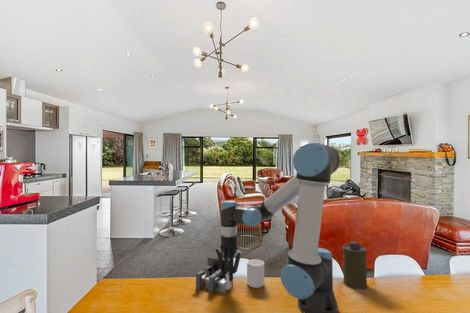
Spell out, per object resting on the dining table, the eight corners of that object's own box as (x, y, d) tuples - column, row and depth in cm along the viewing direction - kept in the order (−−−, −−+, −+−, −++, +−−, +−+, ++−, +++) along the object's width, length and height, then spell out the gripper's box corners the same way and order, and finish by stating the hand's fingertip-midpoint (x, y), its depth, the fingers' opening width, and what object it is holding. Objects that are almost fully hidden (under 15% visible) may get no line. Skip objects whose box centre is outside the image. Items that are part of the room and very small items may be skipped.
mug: (245, 277, 123) (245, 256, 123) (261, 277, 123) (261, 256, 124) (247, 288, 111) (247, 265, 112) (265, 288, 111) (265, 265, 112)
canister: (362, 292, 108) (361, 247, 110) (339, 283, 116) (338, 241, 117) (371, 284, 116) (369, 242, 117) (348, 277, 123) (348, 237, 125)
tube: (229, 288, 111) (229, 279, 111) (224, 292, 107) (224, 283, 107) (203, 282, 117) (203, 273, 117) (198, 286, 113) (198, 277, 113)
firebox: (232, 282, 117) (232, 261, 118) (218, 295, 105) (218, 271, 105) (208, 276, 123) (208, 256, 124) (192, 288, 111) (192, 266, 111)
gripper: (245, 234, 111) (245, 287, 109) (220, 231, 116) (220, 281, 115) (238, 238, 104) (238, 294, 103) (212, 235, 110) (212, 288, 108)
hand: (228, 287), depth 109 cm, fingers closed
